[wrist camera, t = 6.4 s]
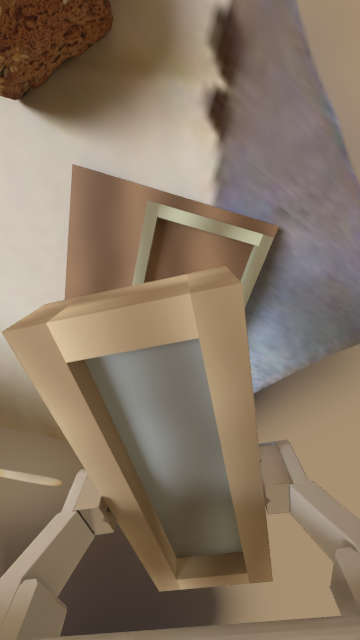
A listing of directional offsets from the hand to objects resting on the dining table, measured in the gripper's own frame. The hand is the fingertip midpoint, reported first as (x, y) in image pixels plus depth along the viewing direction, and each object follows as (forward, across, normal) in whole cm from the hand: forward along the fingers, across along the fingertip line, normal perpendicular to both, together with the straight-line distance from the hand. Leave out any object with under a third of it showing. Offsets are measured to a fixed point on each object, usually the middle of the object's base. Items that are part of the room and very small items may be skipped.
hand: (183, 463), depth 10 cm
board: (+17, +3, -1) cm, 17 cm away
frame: (+1, 0, 0) cm, 1 cm away
